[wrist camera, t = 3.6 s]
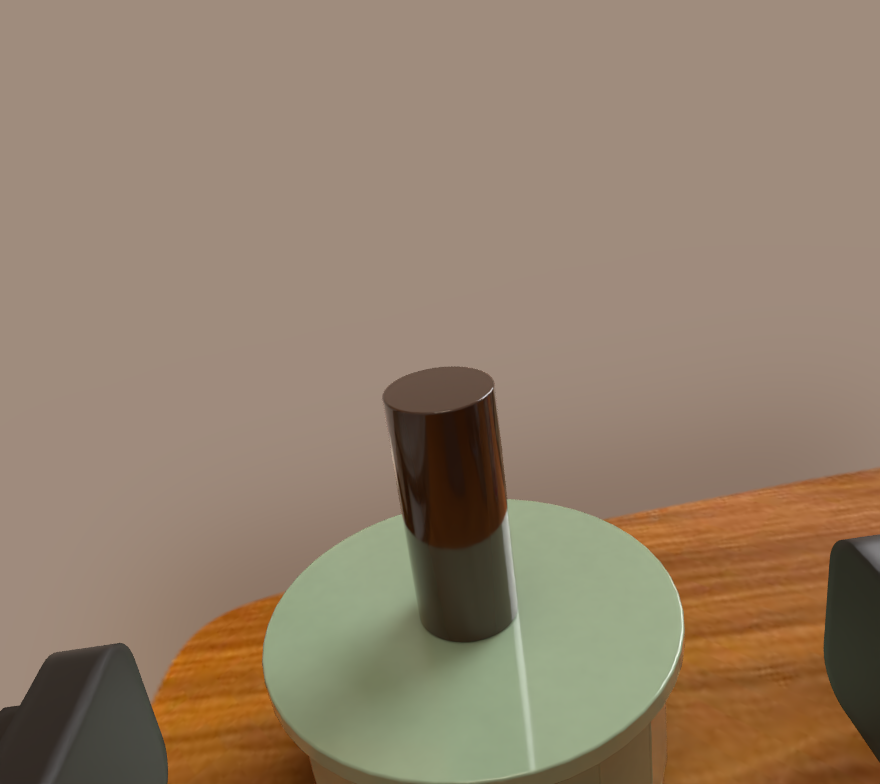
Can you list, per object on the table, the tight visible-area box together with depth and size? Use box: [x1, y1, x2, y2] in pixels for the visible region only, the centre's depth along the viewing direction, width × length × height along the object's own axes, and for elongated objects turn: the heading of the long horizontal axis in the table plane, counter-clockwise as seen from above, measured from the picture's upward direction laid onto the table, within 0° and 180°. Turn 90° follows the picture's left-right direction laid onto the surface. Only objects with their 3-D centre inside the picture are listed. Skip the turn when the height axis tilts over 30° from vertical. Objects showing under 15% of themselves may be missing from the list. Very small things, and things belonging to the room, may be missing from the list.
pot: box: [308, 702, 667, 784], centre depth 24 cm, size 10×10×5 cm
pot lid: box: [262, 367, 685, 784], centre depth 22 cm, size 12×12×8 cm
